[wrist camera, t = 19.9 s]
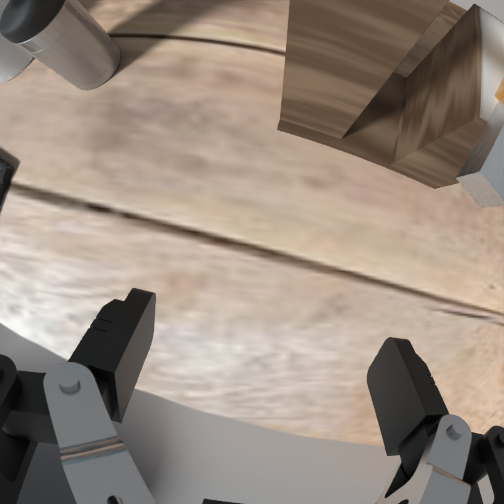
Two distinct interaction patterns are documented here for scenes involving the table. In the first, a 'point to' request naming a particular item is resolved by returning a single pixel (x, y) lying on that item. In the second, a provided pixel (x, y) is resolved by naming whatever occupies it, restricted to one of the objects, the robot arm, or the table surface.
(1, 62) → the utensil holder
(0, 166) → the disk drive
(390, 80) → the zigzag patterned block
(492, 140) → the bar
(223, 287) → the table surface
